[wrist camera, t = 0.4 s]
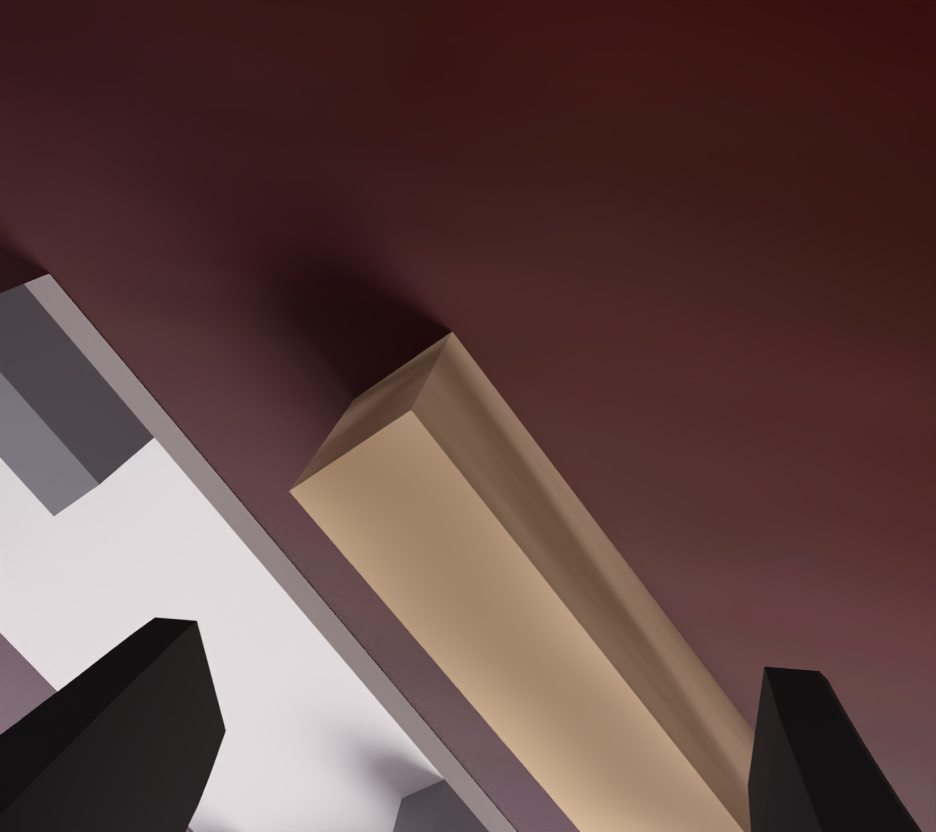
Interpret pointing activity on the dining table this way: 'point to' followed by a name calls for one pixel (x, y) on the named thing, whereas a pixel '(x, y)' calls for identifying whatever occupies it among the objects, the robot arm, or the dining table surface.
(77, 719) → the robot arm
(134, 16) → the dining table surface
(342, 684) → the cradle
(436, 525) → the oak slat
